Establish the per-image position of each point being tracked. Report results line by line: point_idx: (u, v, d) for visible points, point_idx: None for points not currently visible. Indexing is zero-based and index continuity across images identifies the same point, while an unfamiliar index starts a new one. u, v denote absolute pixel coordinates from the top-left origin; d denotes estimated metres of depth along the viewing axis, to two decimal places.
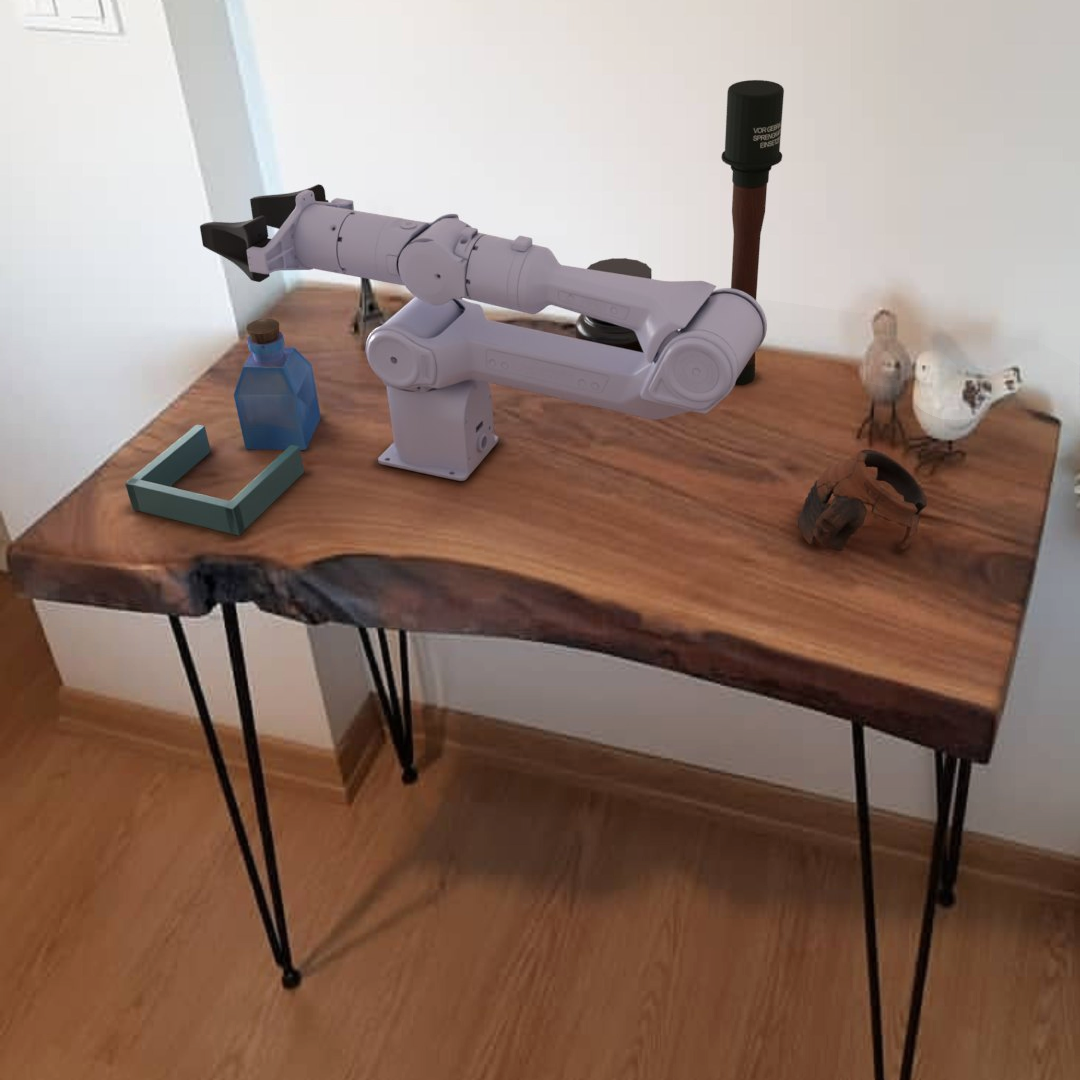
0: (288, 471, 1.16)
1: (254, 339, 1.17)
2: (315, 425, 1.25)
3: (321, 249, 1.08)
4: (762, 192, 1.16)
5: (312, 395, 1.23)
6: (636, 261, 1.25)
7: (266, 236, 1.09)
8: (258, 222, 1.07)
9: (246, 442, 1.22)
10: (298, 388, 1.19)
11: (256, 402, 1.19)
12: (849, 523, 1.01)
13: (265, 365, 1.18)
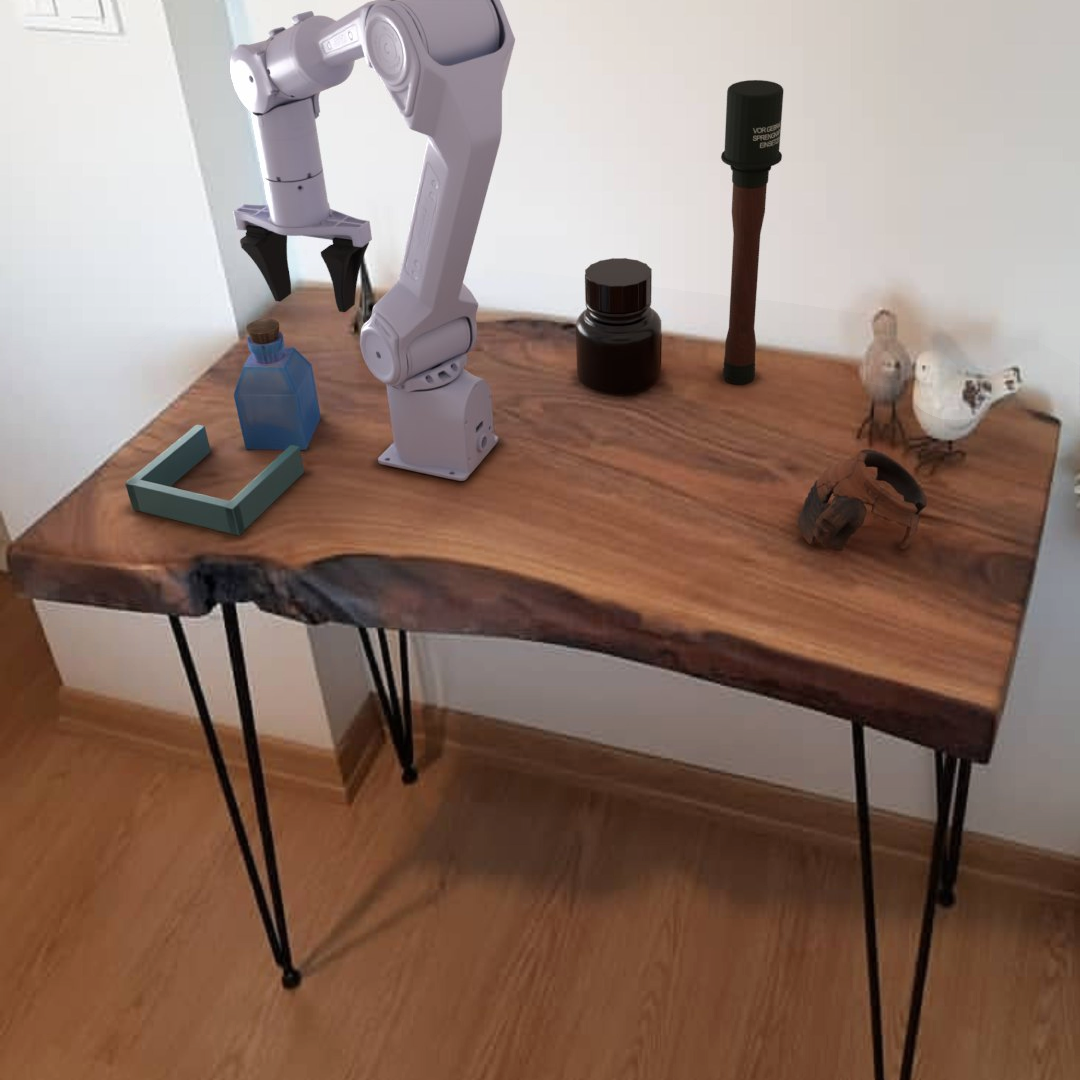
0: (288, 471, 1.16)
1: (254, 339, 1.17)
2: (315, 425, 1.25)
3: None
4: (762, 192, 1.16)
5: (312, 395, 1.23)
6: (636, 261, 1.25)
7: None
8: None
9: (246, 442, 1.22)
10: (298, 388, 1.19)
11: (256, 402, 1.19)
12: (849, 523, 1.01)
13: (265, 365, 1.18)
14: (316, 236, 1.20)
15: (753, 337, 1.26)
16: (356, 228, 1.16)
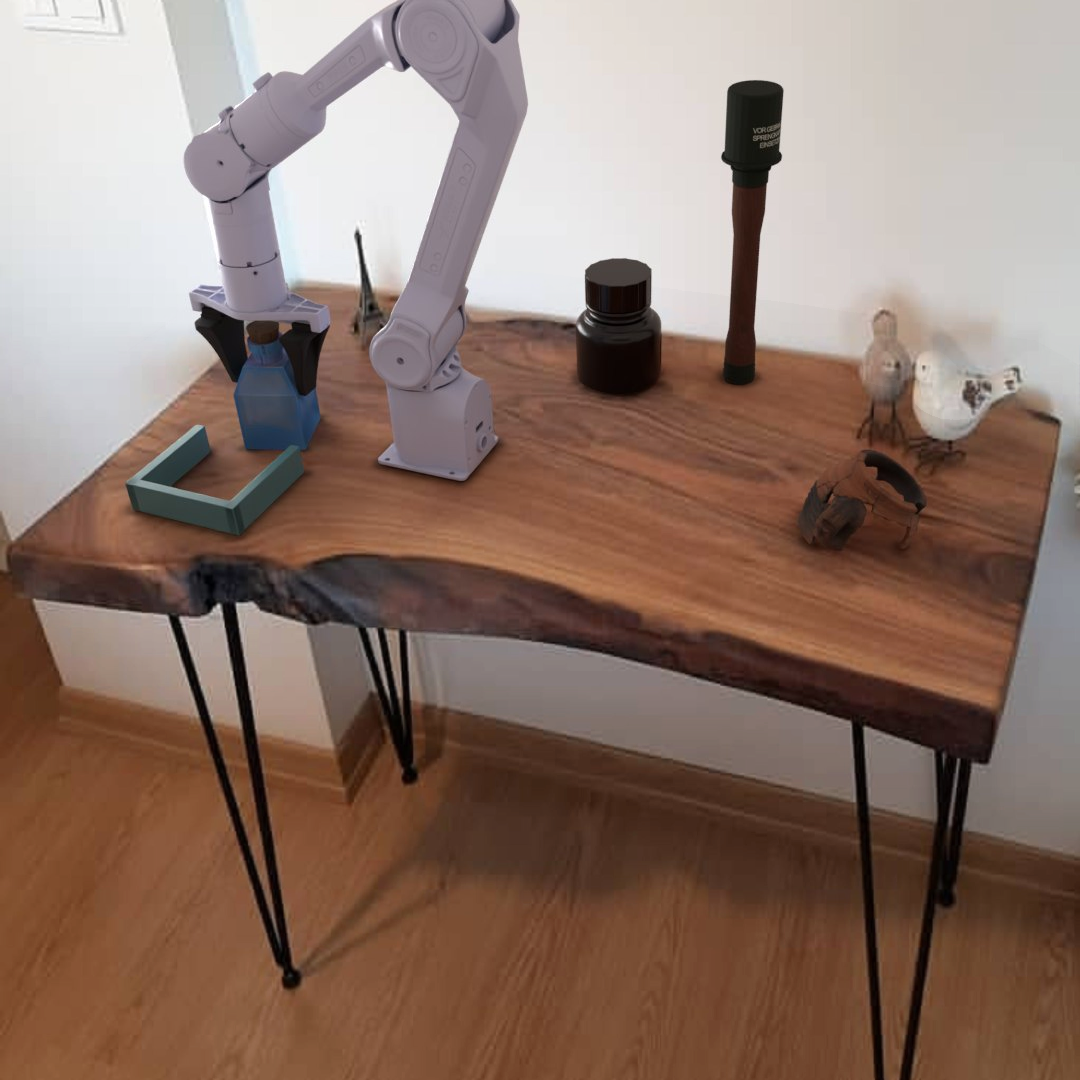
0: (288, 471, 1.16)
1: (254, 339, 1.17)
2: (315, 425, 1.25)
3: None
4: (762, 192, 1.16)
5: (311, 395, 1.23)
6: (636, 261, 1.25)
7: None
8: None
9: (246, 442, 1.22)
10: None
11: (256, 402, 1.19)
12: (849, 523, 1.01)
13: (265, 366, 1.18)
14: None
15: (753, 337, 1.26)
16: (314, 314, 1.13)
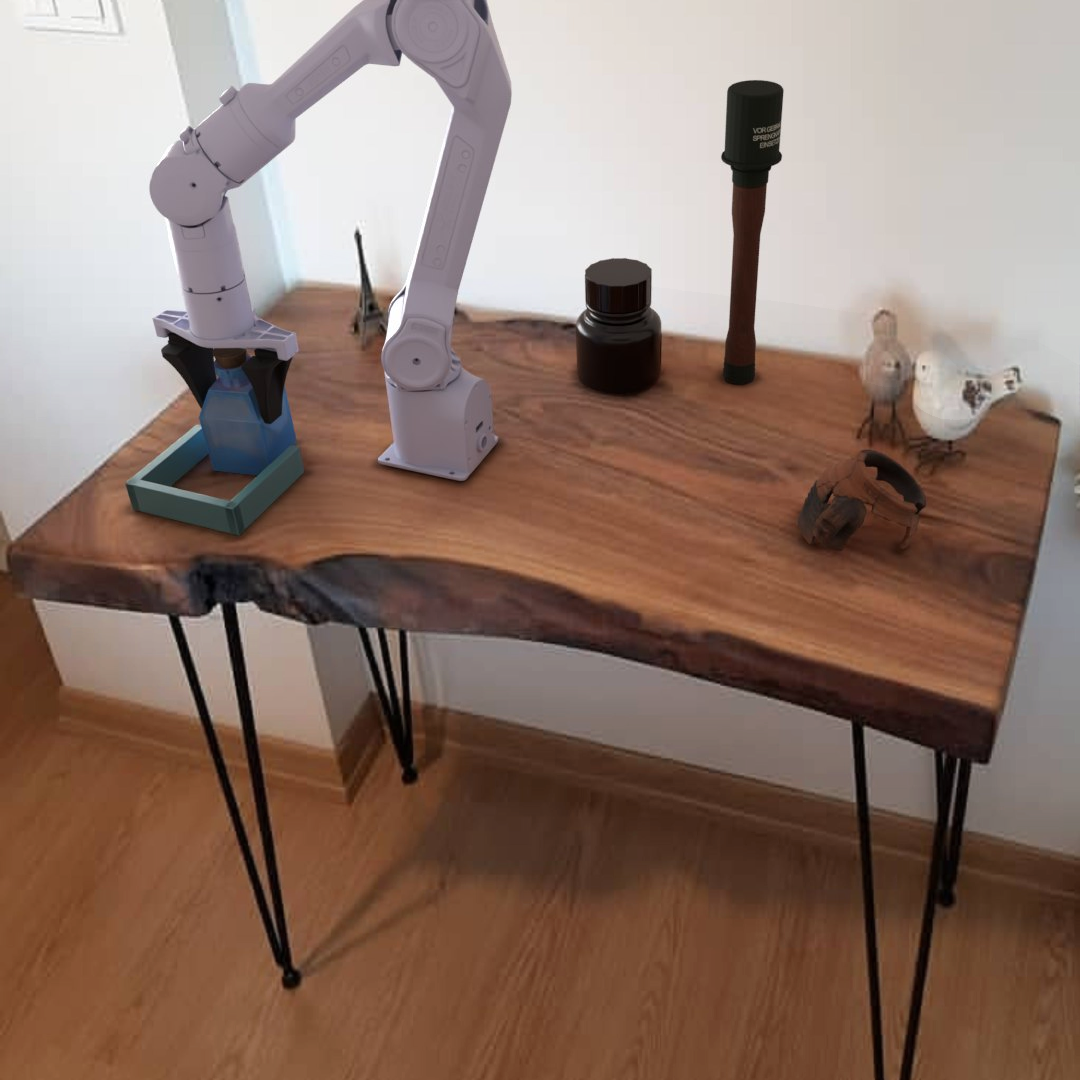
0: (288, 471, 1.16)
1: (219, 363, 1.13)
2: None
3: None
4: (762, 192, 1.16)
5: (284, 419, 1.19)
6: (636, 261, 1.25)
7: None
8: None
9: (213, 464, 1.19)
10: None
11: (221, 426, 1.16)
12: (849, 523, 1.01)
13: (231, 390, 1.14)
14: None
15: (753, 337, 1.26)
16: (280, 341, 1.09)
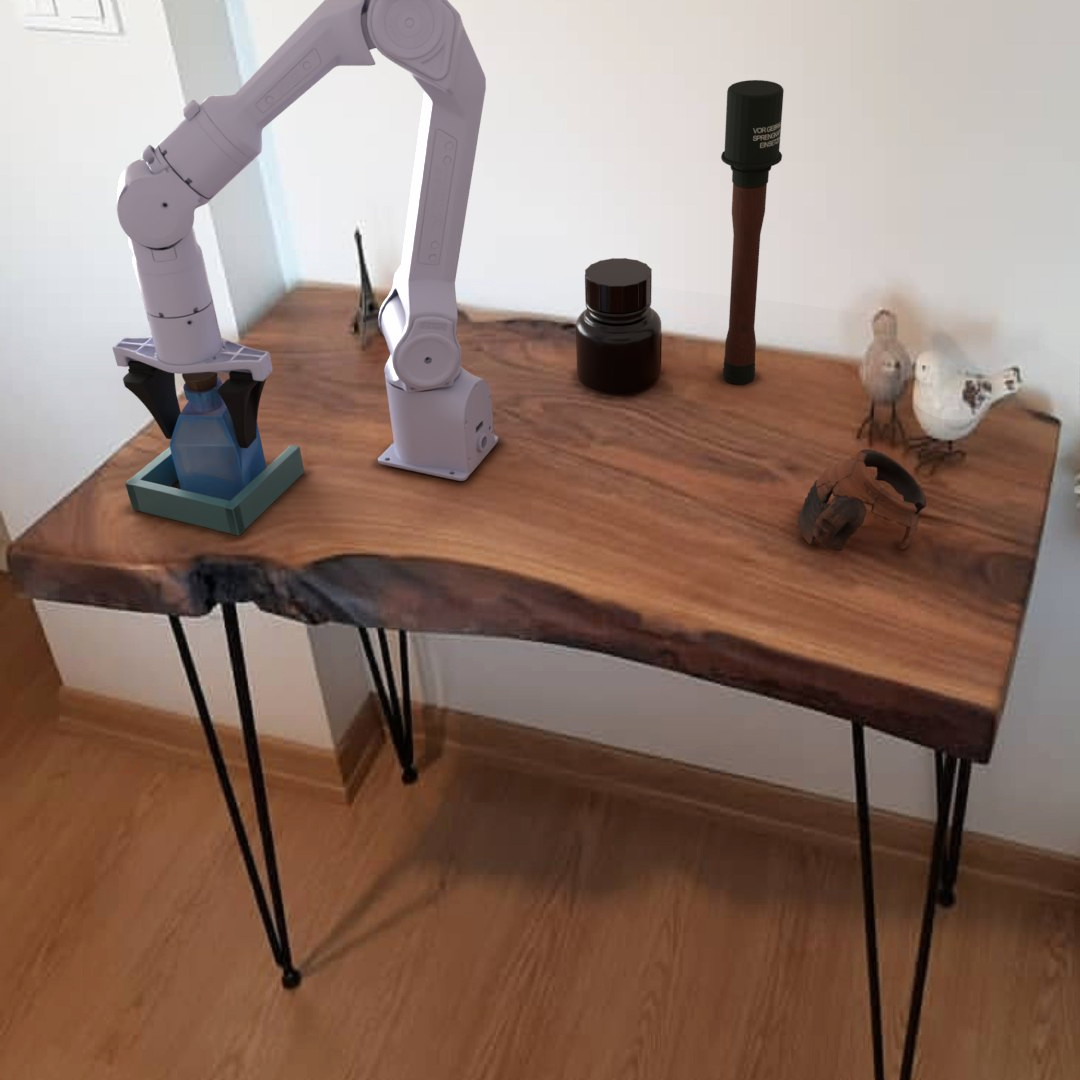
0: (288, 471, 1.16)
1: (190, 386, 1.10)
2: None
3: None
4: (762, 192, 1.16)
5: (255, 443, 1.16)
6: (636, 261, 1.25)
7: None
8: None
9: None
10: None
11: (194, 452, 1.12)
12: (849, 523, 1.01)
13: (203, 414, 1.11)
14: None
15: (753, 337, 1.26)
16: (256, 362, 1.06)
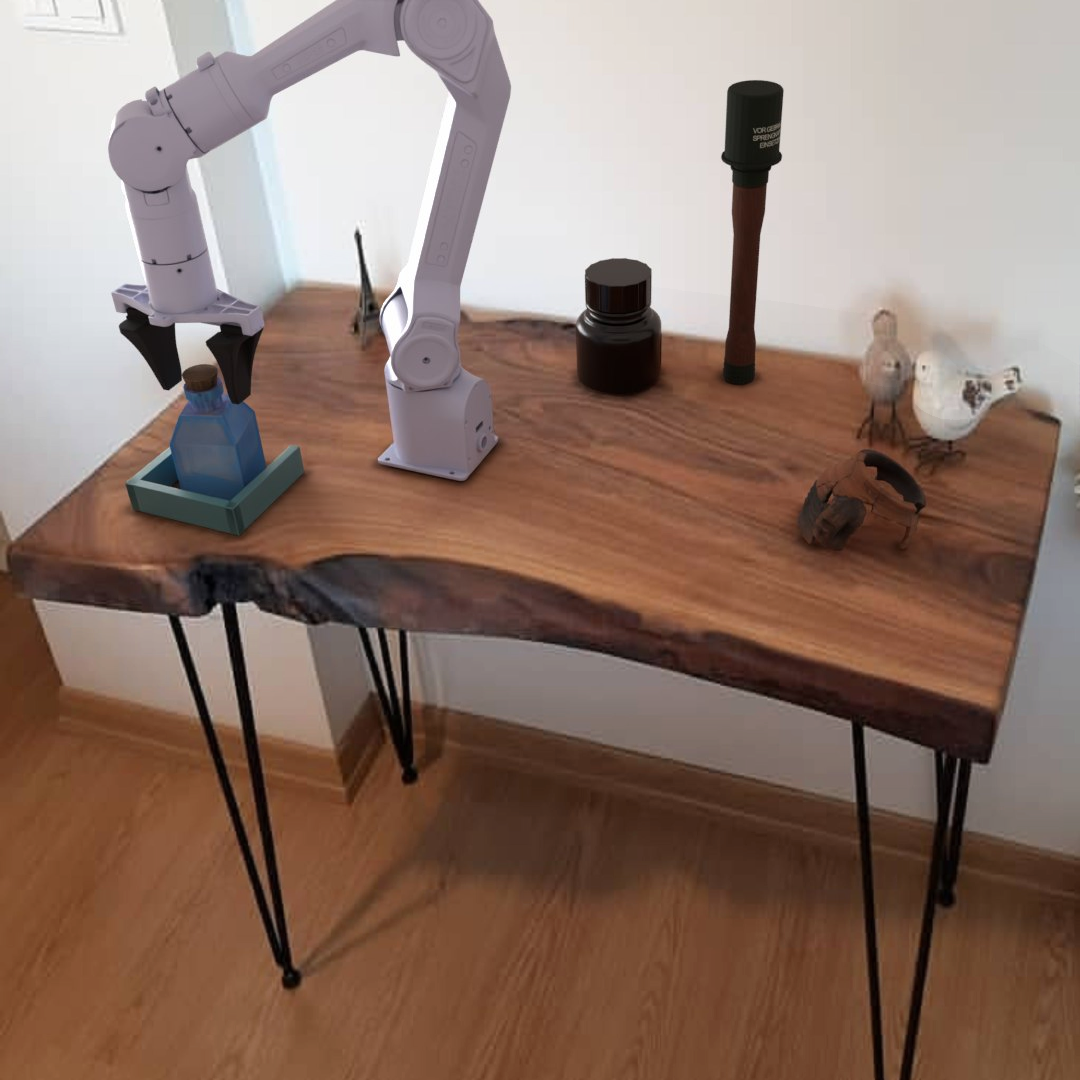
0: (288, 471, 1.16)
1: (190, 386, 1.10)
2: None
3: (203, 273, 1.03)
4: (762, 192, 1.16)
5: (255, 443, 1.16)
6: (636, 261, 1.25)
7: (220, 332, 1.05)
8: (217, 342, 1.04)
9: None
10: (238, 437, 1.12)
11: (194, 452, 1.12)
12: (849, 523, 1.01)
13: (203, 414, 1.11)
14: None
15: (753, 337, 1.26)
16: None
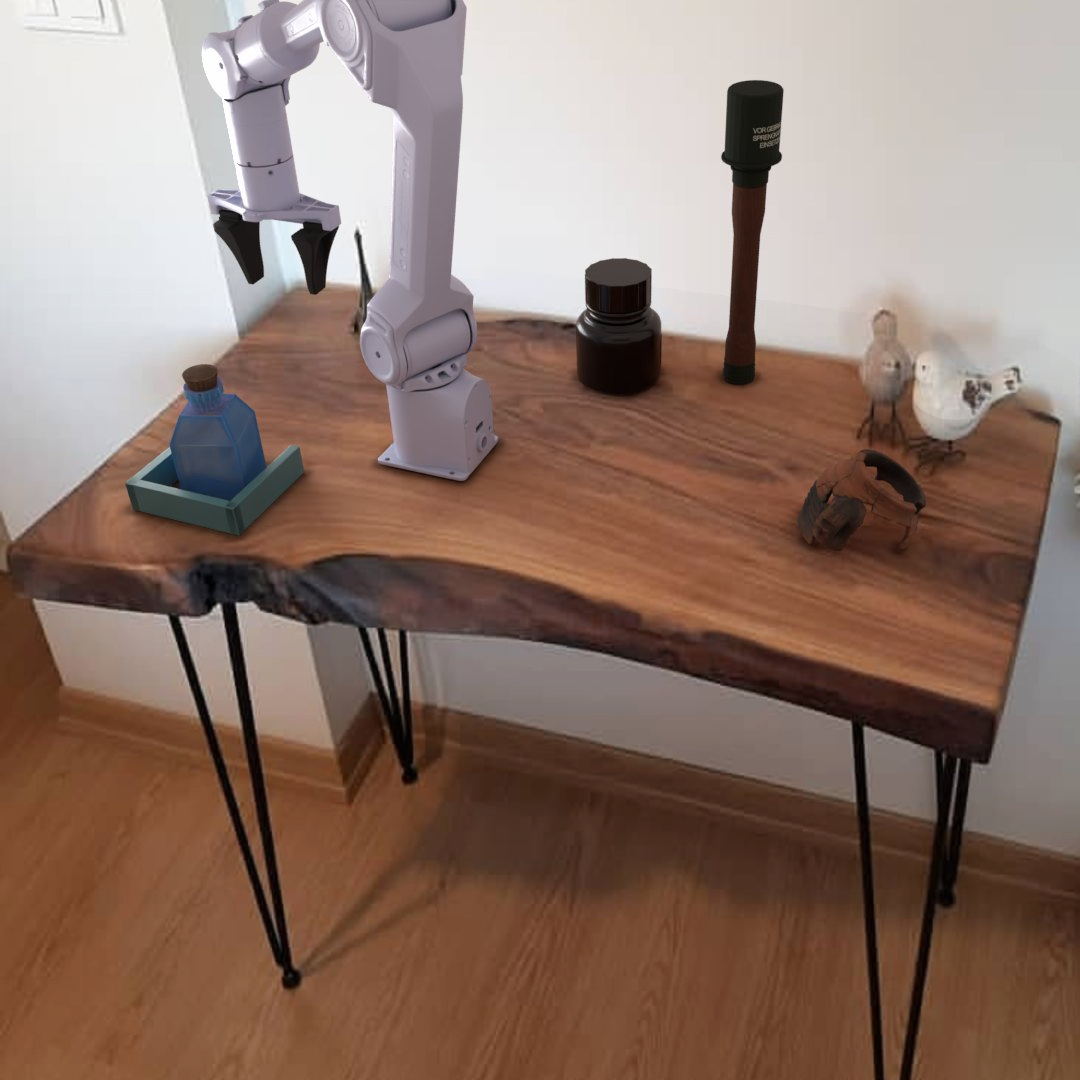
0: (288, 471, 1.16)
1: (190, 386, 1.10)
2: None
3: (289, 176, 1.20)
4: (762, 192, 1.16)
5: (255, 443, 1.16)
6: (636, 261, 1.25)
7: (302, 229, 1.22)
8: (301, 236, 1.20)
9: None
10: (238, 437, 1.12)
11: (194, 452, 1.12)
12: (849, 523, 1.01)
13: (203, 414, 1.11)
14: None
15: (753, 337, 1.26)
16: (220, 189, 1.26)
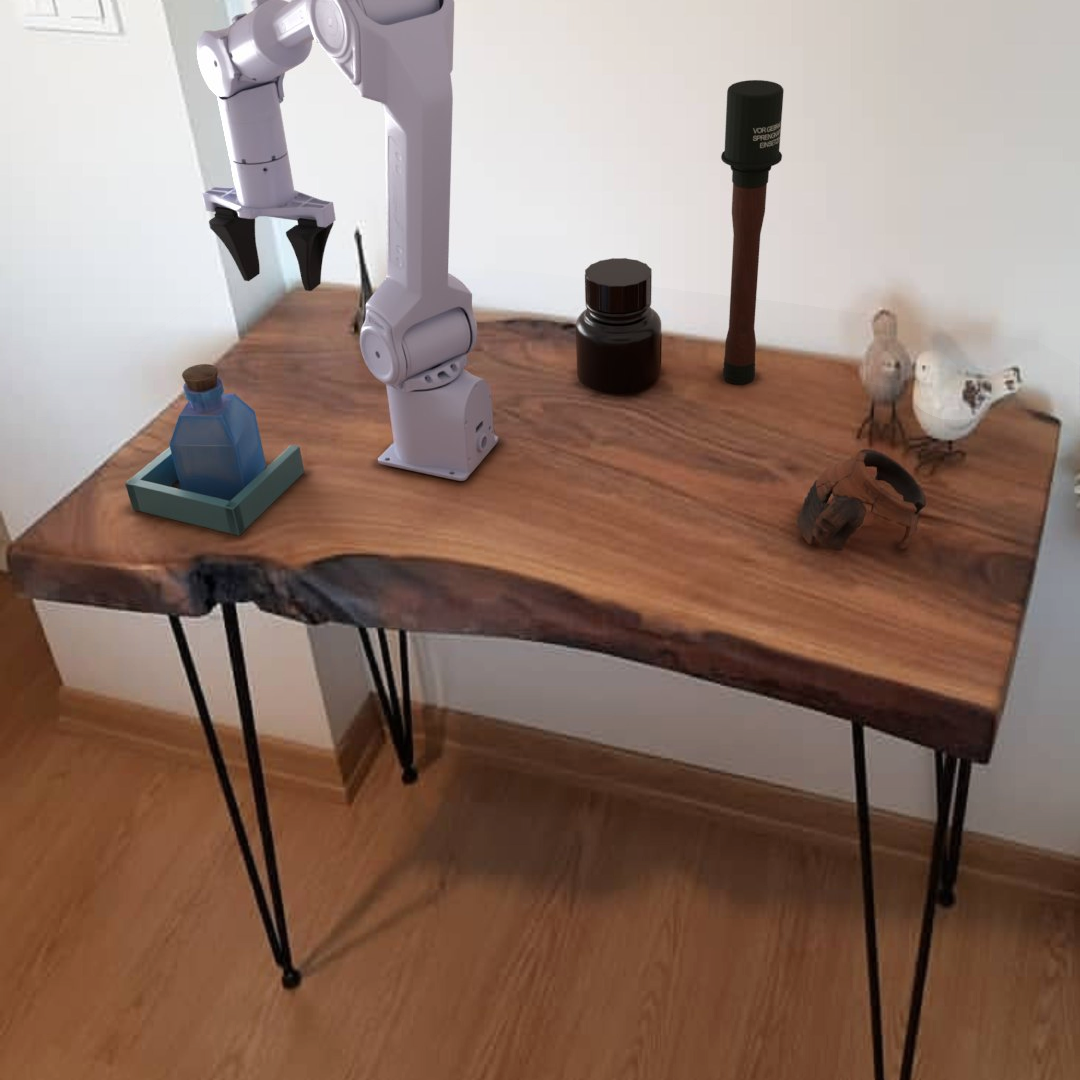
0: (288, 471, 1.16)
1: (190, 386, 1.10)
2: None
3: (284, 173, 1.21)
4: (762, 192, 1.16)
5: (255, 443, 1.16)
6: (636, 261, 1.25)
7: (297, 225, 1.23)
8: (296, 232, 1.21)
9: None
10: (238, 437, 1.12)
11: (194, 452, 1.12)
12: (848, 523, 1.01)
13: (203, 414, 1.11)
14: None
15: (753, 337, 1.26)
16: None
